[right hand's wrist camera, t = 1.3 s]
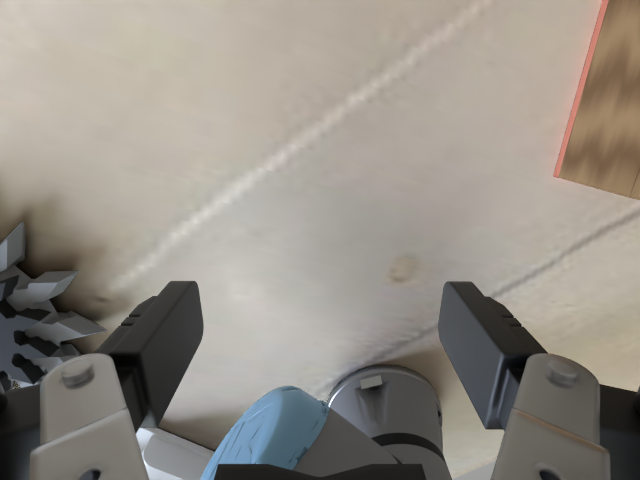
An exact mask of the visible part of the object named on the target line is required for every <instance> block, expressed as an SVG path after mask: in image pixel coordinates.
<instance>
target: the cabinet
mask: <svg viewBox="0 0 640 480" xmlns="http://www.w3.org/2000/svg"><path fill="white" fill-rule="evenodd" d="M554 177H557V178H562V179H565V180H569V181H572V182H576V183H579V184H583V185H587V186H590V187H594V188H597V189H601V190H604V191H608V192H611V193H615V194H619V195H622V196H626V197H630V198H633V199H637V200H640V0H603V1H602V5H601V8H600V12H599V15H598V19H597V23H596V26H595V30H594V33H593V37H592V40H591V44H590V47H589V51H588V55H587V58H586V62H585V65H584V69H583V72H582V76H581V80H580V83H579V87H578V90H577V94H576V97H575V101H574V104H573V108H572V112H571V115H570V119H569V122H568V126H567V129H566V133H565V136H564V140H563V144H562V147H561V151H560V154H559V158H558V161H557V165H556V168H555V172H554Z"/></svg>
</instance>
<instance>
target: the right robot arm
mask: <svg viewBox="0 0 640 480" xmlns="http://www.w3.org/2000/svg"><path fill="white" fill-rule="evenodd" d="M438 331H439V337H440V341H441V343H442V345H443V347H444V349H445V351H446V353H447V355H448V357H449V359H450V361H451V363H452V365H453V367H454V369H455V371H456V373H457V375H458V376H459V378H460V380H461V382H462V384H463V386H464V388H465V390H466V392H467V394H468V396H469V398H470V400H471V402H472V404H473V406H474V408H475V410H476V411H477V413H478V415H479V417H480V419H481V421H482V423H483V425H484V427H485V429H504V431H505V433H504V436H503V440H502V443H501V446H500V450H499V453H498V456H497V460H496V463H495V467H494V470H493V473H492V476H491V480H640V387H639V389H638V391H637V392H634V391H629V390H624V389H620V388H615V387H610V386H606V385H601V384H599V382H598V380H597V379H596V377H595V376H594V375H593V374H592V373H591V372H590V371H589V370H587V369H586V368H585V367H583V366H582V365H580V364H578V363H576V362H574V361H572V360H570V359H568V358H565V357H562V356H559V355H554V354H548V353H547V352H546V351H545V349H544V348H543V347H542V346H541V345H540V344H539V343H538V342H537V341H536V340H535V339H534V338H533V336H532V335H531V334H530V333H529V332H528V331H527V330H526V329H525V328H524V327H522V326H521V324H520V322H519V321H518V320H517V319H516V318H514V317H513V315H512V314H511V313H510V312H509V311H508V309H507V308H506V307H505V306H504V305H502V304H500V303H499V302H497V301H495V300H494V299H492V298H490V297H485V296H484V295H483V294H482V293H481V292H480V291H479V289H478V288H477V287H476V286H475V285H474V284H473V283H472V282H446V283H445V285H444V289H443V295H442V302H441V309H440V316H439V323H438ZM202 336H203V317H202V310H201V303H200V296H199V289H198V285H197V283H196V282H195V281H171V282H169V283H168V284H167V285H166V287H165V288H164V289H163V290H162V291H161V292H160V294H159V295H158V296H152V297H151V298H149V299H147V300H146V301H144V302H142V303H141V304H139V305H138V306H137V307H136V308H135V309H134V310H133V311H132V312H131V314H130V315H129V317H127V318H126V319H125V320H124V321H123V322H122V323H121V326H119V327H118V328H117V329H116V330H115V331H114V332H113V333H112V334H111V335H110V336H109V337H108V339H107V340H106V341H105V342H104V343H103V344H102V345H101V346H100V347H99V348H98V349H97V351H96V352H95V353H93V354H86V355H81V356H78V357H75V358H72V359H70V360H68V361H66V362H64V363H62V364H60V365H58V366H57V367H55V368H54V369H53V370H51V371H50V372H49V373H48V374H47V375H46V376H45V377H44V379H43V380H42V382H41V384H37V385H32V386H27V387H23V388H18V389H13V390H8V391H4V389H3V387H2V385H1V382H0V480H149V476H148V473H147V470H146V466H145V463H144V460H143V456H142V453H141V450H140V446H139V443H138V440H137V436H136V433H137V431H138V430H139V428H157V427H158V425H159V423H160V421H161V419H162V417H163V415H164V413H165V411H166V409H167V407H168V405H169V403H170V401H171V399H172V397H173V396H174V394H175V392H176V390H177V388H178V386H179V384H180V382H181V380H182V378H183V376H184V374H185V372H186V370H187V368H188V366H189V364H190V362H191V360H192V358H193V356H194V354H195V352H196V350H197V348H198V346H199V344H200V342H201V340H202ZM214 480H426V477H425V473H424V470H423V466H422V464H369V465H366V466H362V467H358V468H354V469H351V470H347V471H343V472H339V473H336V474H332V475H328V476H324V477H316V476H312V475H308V474H304V473H301V472H297V471H293V470H289V469H286V468H282V467H278V466H274V465H271V464H218V466H217V470H216V473H215V477H214Z"/></svg>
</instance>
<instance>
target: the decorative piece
mask: <svg viewBox="0 0 640 480" xmlns="http://www.w3.org/2000/svg"><path fill="white" fill-rule="evenodd" d="M25 233H26V231H25V227H24V223H23V221H22V222H21V223H20V224H19V225H18V226H17V227H16V228H15V229H14V230H13V231H12V232H11V233H10V234H9V235H8V236H7V237H6V238H5V239H4V240H3V241H2V242H1V243H0V382H1V385H2V387H3V389H4V391H8V390H12V387H13V383H14V381H15V382H16V383H17V384H18V385H19V386H20V388H23V387H27V386H32V385H37V384H41V382H42V380H43V379H44V377H45V376H46V375H47V374H48V373H49V372H50V371H51V370H53V369H54V368H55V367H57V366H58V365H60V364H62V363H64V362H66V361H68V360H70V359H72V358H75V357H78V356H81V354H80V353H79V352H78V350H77V349H76V348H75V347H74V346H73V345H72V344H62V345H61V344H60V342H61V341H65V340H70V339H75V338H80V337H84V336H88V335H92V334H96V333H100V332H105V331H107V330H106V329H104V328H103V327H101V326H100V325H98V324H97V323H95V322H93V321H91V320H89V319H87V318H85V317H83V316H81V315H79V314H77V313H75V312H73V311H69V312H68V313H62V312H56V310H55V308H54V307H53V305H52V303H51V302H50V300H49V299H50V298H53V297H55V296H57V295H59V294H61V293H63V292H64V290H65V289H66V288H67V286H68V285H69V284H70V282H71V281H72V280H73V279H74V277H75V276H76V275H77V273H78V272H79V271H55V272H45V273H44V274H42V275H41V276H39V277H38V278H36V279H31V278H30V277H29V276H27V275H26V274H25V273H24V272H22V271H21V270H20V269H19V268H17V267H16V265H17V264H18V263H19V262H21V261H23V260H24V259H25Z"/></svg>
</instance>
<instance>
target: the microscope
mask: <svg viewBox="0 0 640 480" xmlns="http://www.w3.org/2000/svg"><path fill="white" fill-rule="evenodd" d="M136 436H137V440H138V443H139V446H140V450H141V453H142V456H143V460H144V463H145V466H146V470H147V473H148V476H149V480H200V479H201V476H202V474H203V472H204V470H205V468H206V467H207V465H208V463H209V461H210V459H211V458H212V456H213V454H214V453H215V452H214V451H211V450H209V449H207V448H204V447H202V446H199V445H197V444H195V443H192V442H190V441H187V440H185V439H182V438H180V437H178V436H175V435H173V434H170V433H168V432H166V431H163V430H161V429H158V428H139V430H138V431H137V433H136Z"/></svg>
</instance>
